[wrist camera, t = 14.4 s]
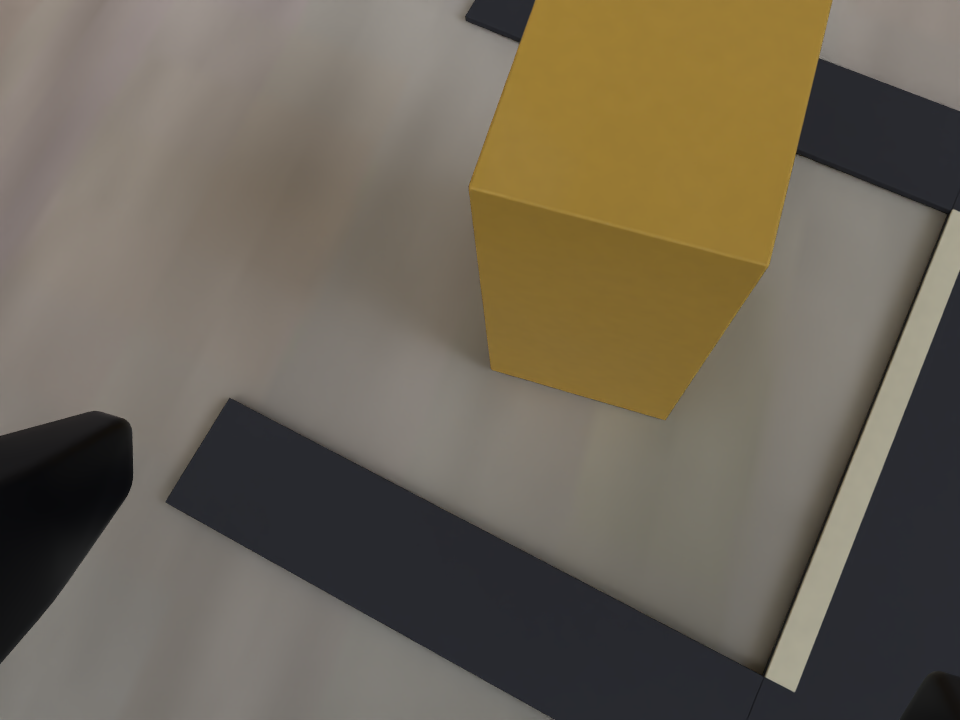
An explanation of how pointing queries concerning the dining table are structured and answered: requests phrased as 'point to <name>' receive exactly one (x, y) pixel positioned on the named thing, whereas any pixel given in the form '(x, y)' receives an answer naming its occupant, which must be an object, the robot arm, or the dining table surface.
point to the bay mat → (606, 621)
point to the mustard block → (637, 186)
